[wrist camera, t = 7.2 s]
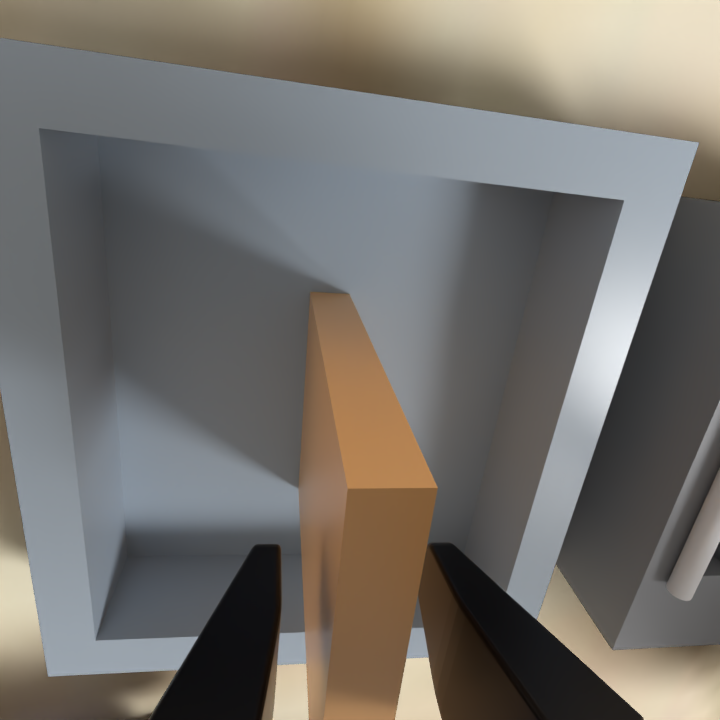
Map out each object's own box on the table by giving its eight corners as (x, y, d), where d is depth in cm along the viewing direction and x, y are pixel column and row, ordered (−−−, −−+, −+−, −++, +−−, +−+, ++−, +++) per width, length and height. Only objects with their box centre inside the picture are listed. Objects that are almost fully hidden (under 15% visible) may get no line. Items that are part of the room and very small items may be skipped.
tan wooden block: (349, 293, 13) (438, 487, 6) (331, 488, 15) (378, 808, 8) (310, 291, 13) (347, 488, 5) (298, 488, 15) (313, 816, 8)
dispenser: (799, 211, 14) (1017, 239, 10) (656, 545, 19) (765, 661, 14) (643, 191, 13) (809, 212, 9) (531, 547, 18) (608, 671, 14)
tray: (603, 143, 13) (699, 142, 10) (485, 569, 18) (525, 652, 15) (36, 62, 10) (-60, 28, 7) (92, 577, 16) (47, 676, 13)
